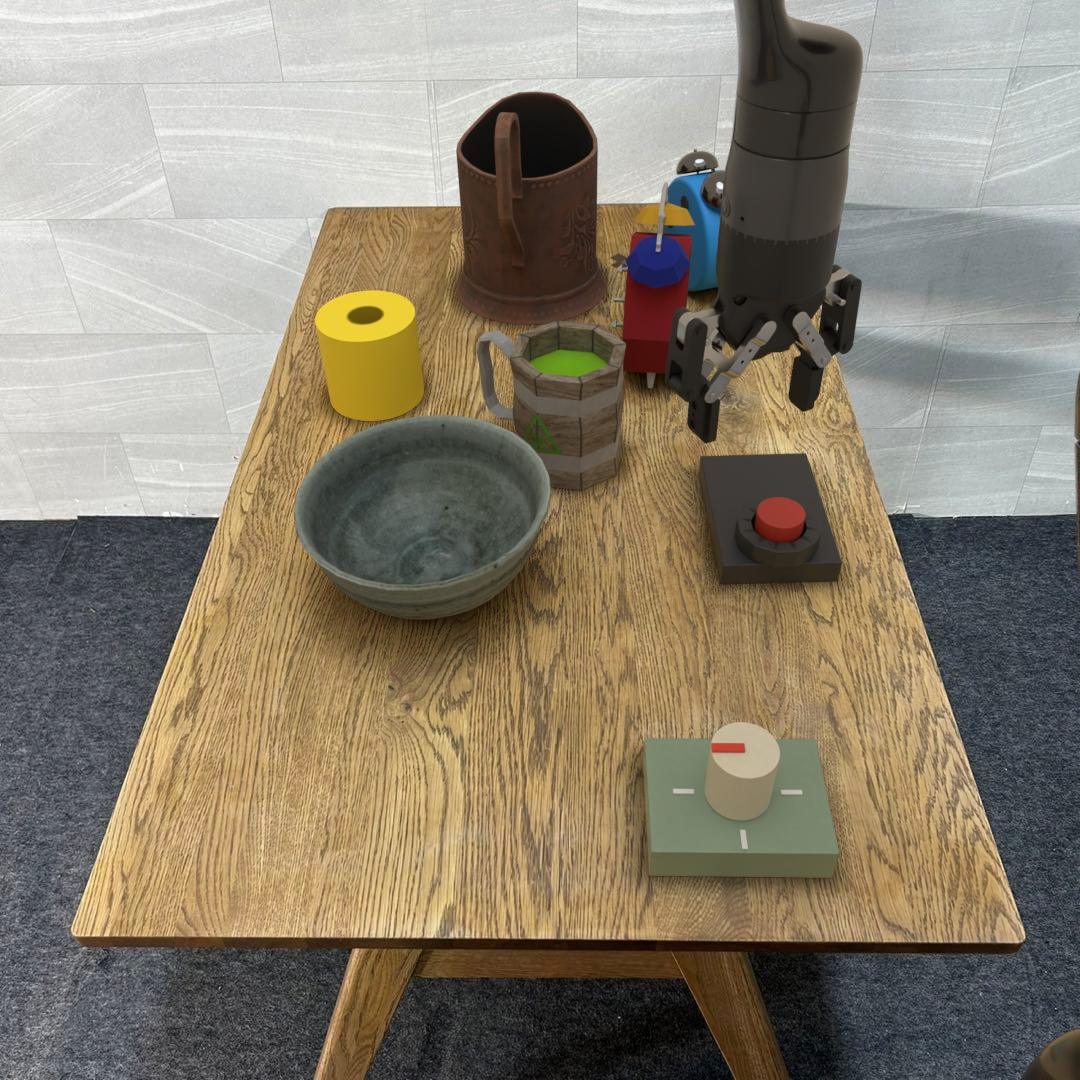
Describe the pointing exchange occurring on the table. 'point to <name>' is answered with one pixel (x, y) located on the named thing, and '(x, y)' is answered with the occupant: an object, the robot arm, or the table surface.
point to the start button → (779, 520)
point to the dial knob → (741, 771)
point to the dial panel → (729, 845)
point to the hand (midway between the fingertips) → (752, 420)
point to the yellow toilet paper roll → (370, 354)
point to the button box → (732, 513)
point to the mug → (563, 397)
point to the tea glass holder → (529, 211)
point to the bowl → (424, 514)
